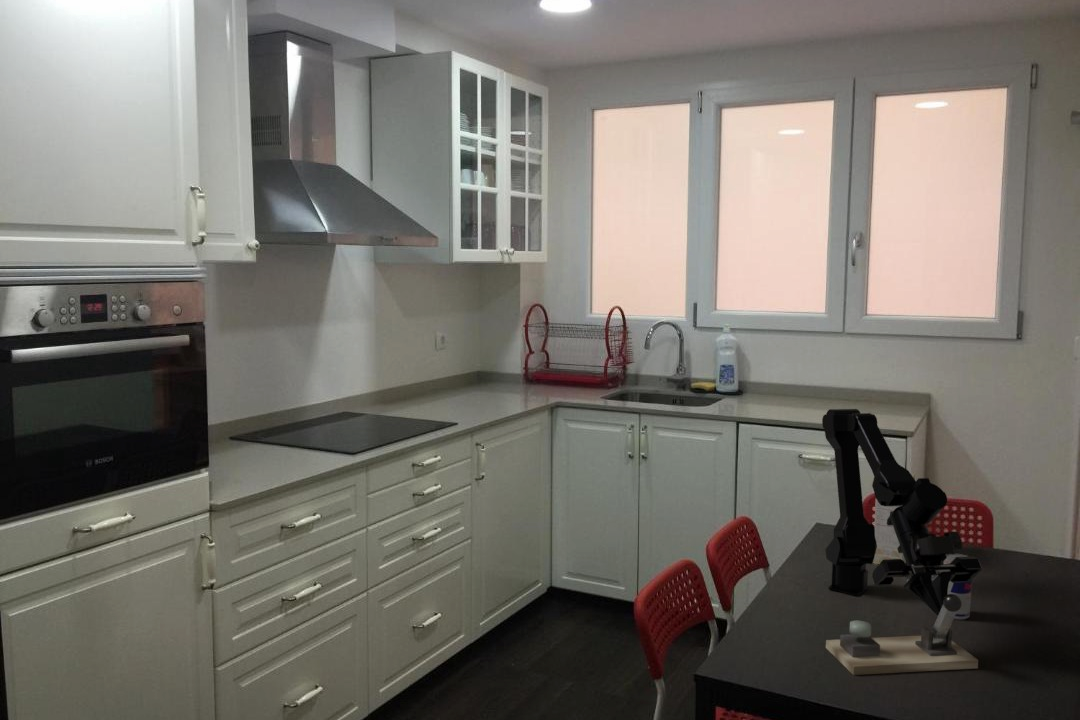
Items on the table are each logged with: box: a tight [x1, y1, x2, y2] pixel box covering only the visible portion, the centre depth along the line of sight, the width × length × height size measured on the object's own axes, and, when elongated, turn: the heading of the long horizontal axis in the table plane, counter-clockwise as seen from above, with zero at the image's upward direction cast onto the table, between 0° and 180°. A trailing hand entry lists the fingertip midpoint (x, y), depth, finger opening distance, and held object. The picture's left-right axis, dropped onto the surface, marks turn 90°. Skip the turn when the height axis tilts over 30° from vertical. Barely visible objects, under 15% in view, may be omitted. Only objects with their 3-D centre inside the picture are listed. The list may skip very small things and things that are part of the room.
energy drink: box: [942, 553, 973, 621], centre depth 182 cm, size 5×5×12 cm
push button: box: [849, 619, 872, 637], centre depth 162 cm, size 4×4×2 cm
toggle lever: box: [930, 594, 962, 645], centre depth 160 cm, size 3×3×12 cm
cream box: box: [873, 473, 916, 565], centre depth 217 cm, size 15×7×20 cm, turn 150°
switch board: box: [825, 626, 979, 676], centre depth 163 cm, size 11×23×5 cm, turn 97°
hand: (942, 615), depth 161 cm, fingers closed, pressing on toggle lever
